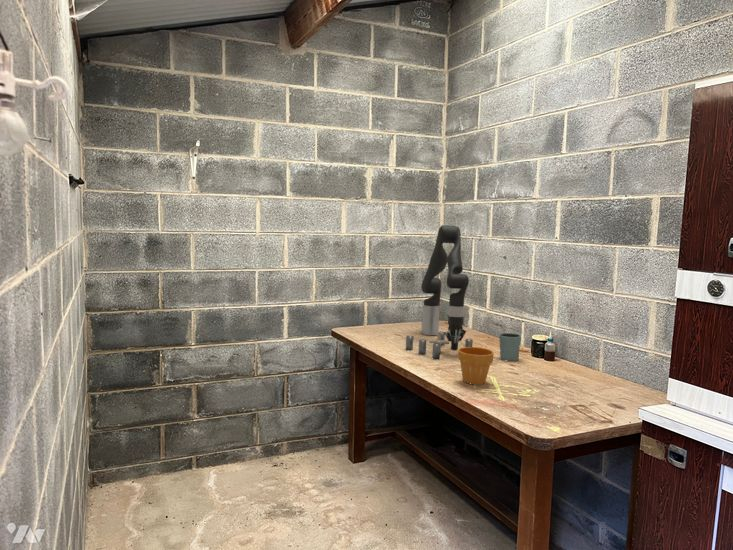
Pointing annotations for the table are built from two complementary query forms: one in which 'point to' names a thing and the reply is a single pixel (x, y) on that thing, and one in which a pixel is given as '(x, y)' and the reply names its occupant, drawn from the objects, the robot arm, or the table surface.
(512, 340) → the grey-blue tapered bin
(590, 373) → the table surface
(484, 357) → the flower pot
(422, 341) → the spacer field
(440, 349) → the pipe connector
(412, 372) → the table surface
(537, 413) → the table surface
